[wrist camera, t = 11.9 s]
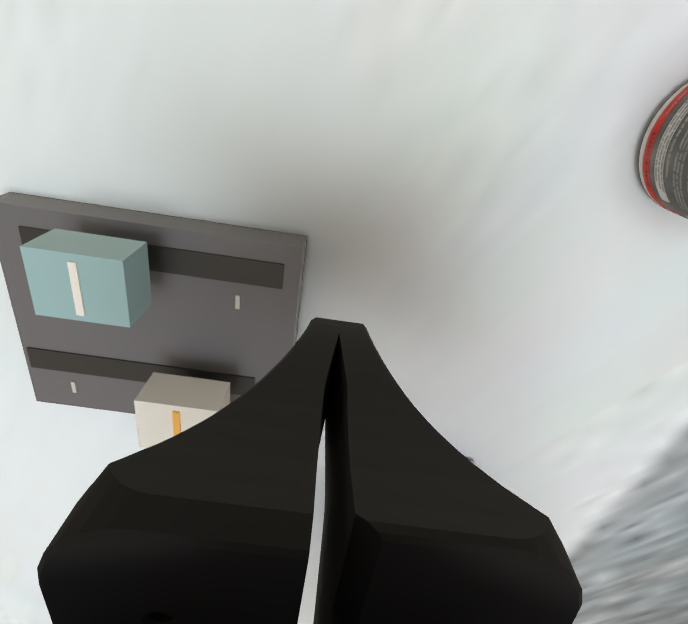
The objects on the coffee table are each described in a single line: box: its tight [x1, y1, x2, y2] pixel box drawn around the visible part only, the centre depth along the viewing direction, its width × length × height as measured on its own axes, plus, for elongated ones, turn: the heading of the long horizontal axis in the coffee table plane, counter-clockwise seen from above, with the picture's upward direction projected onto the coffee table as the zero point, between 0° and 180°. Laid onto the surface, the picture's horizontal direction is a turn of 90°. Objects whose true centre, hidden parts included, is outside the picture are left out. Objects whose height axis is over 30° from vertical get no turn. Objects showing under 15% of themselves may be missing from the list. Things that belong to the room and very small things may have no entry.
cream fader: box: [134, 372, 230, 448], centre depth 21 cm, size 3×4×3 cm
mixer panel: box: [0, 192, 307, 414], centre depth 22 cm, size 11×14×2 cm
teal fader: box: [20, 229, 152, 328], centre depth 17 cm, size 3×4×3 cm
